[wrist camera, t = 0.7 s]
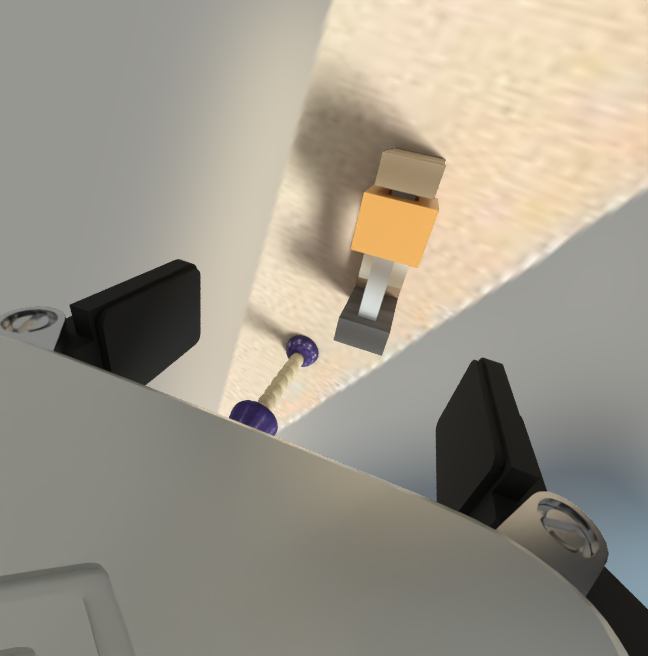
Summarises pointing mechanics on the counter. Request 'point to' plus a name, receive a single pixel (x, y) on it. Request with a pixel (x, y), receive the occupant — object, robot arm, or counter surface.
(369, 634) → the robot arm
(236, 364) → the counter surface
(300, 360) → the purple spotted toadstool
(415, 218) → the sleeve
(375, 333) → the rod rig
